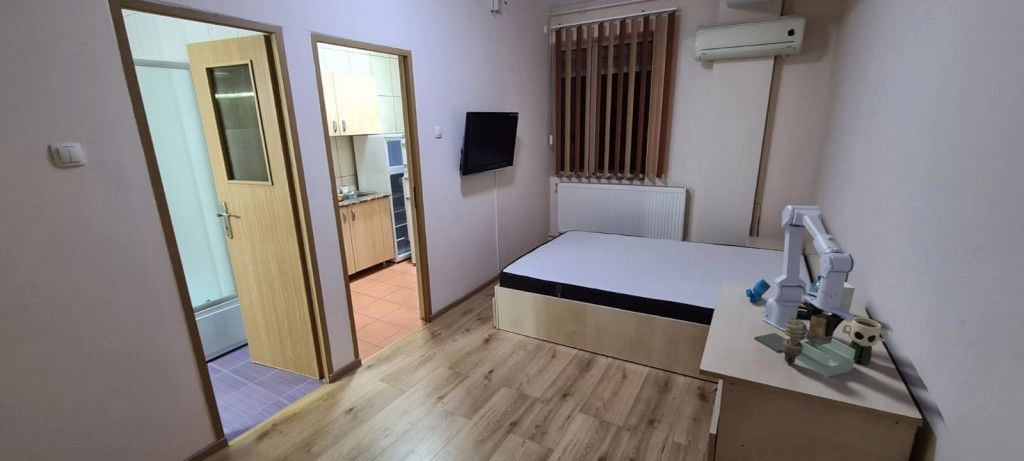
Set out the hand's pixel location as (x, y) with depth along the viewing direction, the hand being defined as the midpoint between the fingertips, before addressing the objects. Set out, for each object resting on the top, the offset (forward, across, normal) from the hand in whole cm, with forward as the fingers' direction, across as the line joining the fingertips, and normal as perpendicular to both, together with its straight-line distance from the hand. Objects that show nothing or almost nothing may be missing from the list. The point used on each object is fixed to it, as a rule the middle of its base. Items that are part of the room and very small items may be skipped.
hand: (820, 331), depth 132 cm
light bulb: (+10, +1, +10) cm, 14 cm away
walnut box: (+3, 0, 0) cm, 3 cm away
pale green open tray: (+10, -1, 0) cm, 10 cm away
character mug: (+10, -4, -13) cm, 17 cm away
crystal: (+10, +39, -18) cm, 44 cm away
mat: (+10, +12, +3) cm, 15 cm away
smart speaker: (+10, +29, -33) cm, 45 cm away
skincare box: (+10, +20, -38) cm, 44 cm away
